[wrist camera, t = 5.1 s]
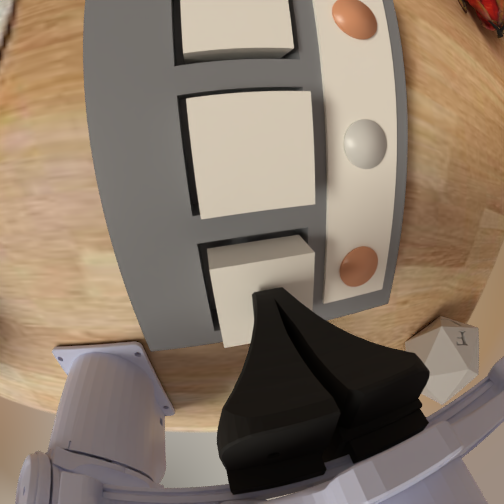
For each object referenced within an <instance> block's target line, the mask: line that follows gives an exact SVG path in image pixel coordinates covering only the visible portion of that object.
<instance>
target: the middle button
mask: <svg viewBox="0 0 504 504" xmlns="http://www.w3.org/2000/svg"><path fill="white" fill-rule="evenodd" d="M186 104H187V114H188V123H189V132H190V141H191V150H192V158H193V166H194V173H195V181H196V188H197V195H198V202H199V209H200V216H201V219H208V218H215V217H221V216H228V215H235V214H242V213H249V212H257V211H264V210H272V209H280V208H288V207H296V206H305V205H313V204H315V163H314V137H313V118H312V102H311V91H261V92H242V93H229V94H218V95H209V96H201V97H193V98H186Z"/></svg>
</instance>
